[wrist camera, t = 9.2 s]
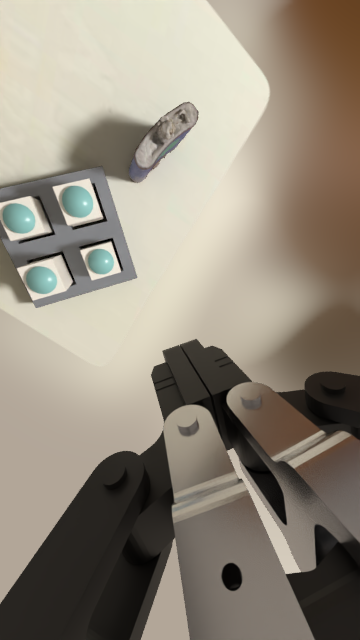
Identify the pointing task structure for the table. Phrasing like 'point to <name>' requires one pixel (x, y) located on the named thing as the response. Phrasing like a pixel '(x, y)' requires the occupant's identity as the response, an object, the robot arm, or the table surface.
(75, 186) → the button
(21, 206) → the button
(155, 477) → the robot arm
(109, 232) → the button board
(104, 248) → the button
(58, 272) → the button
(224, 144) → the table surface
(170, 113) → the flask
